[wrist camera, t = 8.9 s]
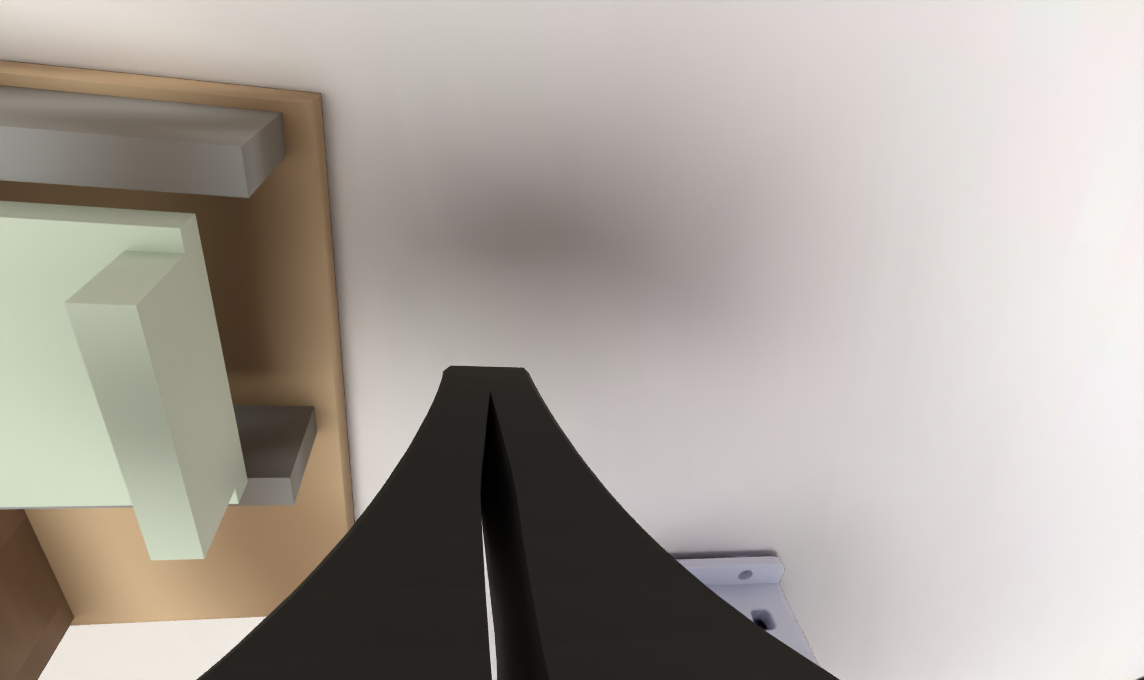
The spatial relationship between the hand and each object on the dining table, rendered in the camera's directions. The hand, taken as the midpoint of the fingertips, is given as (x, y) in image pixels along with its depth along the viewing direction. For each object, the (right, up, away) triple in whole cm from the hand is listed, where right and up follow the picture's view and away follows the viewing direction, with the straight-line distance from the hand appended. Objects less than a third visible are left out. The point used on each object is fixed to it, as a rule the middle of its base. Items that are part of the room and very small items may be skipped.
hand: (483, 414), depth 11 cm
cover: (-7, +1, 0) cm, 7 cm away
